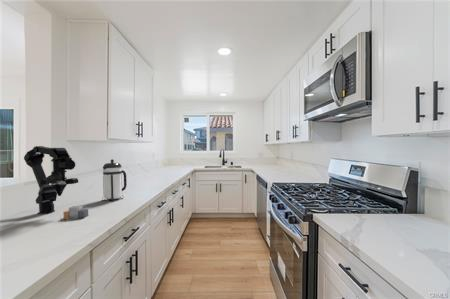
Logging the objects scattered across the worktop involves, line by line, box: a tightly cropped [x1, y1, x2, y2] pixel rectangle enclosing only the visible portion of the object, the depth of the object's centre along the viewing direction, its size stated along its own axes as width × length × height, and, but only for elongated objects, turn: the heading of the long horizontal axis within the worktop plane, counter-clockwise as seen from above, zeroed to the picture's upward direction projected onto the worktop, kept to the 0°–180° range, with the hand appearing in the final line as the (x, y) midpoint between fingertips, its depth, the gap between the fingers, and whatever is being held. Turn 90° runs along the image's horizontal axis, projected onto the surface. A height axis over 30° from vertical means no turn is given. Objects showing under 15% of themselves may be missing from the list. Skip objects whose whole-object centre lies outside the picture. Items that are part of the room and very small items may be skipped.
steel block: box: [68, 205, 83, 220], centre depth 132 cm, size 5×4×6 cm
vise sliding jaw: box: [62, 208, 70, 220], centre depth 131 cm, size 2×5×4 cm, turn 5°
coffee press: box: [101, 159, 128, 202], centre depth 178 cm, size 17×16×30 cm
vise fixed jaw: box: [77, 208, 89, 219], centre depth 132 cm, size 3×5×4 cm, turn 5°
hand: (59, 195), depth 138 cm, fingers closed
